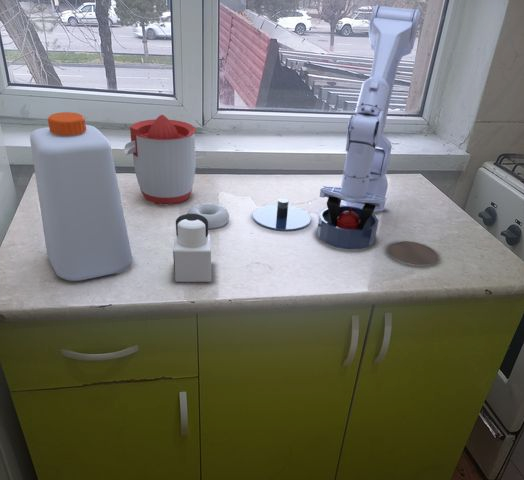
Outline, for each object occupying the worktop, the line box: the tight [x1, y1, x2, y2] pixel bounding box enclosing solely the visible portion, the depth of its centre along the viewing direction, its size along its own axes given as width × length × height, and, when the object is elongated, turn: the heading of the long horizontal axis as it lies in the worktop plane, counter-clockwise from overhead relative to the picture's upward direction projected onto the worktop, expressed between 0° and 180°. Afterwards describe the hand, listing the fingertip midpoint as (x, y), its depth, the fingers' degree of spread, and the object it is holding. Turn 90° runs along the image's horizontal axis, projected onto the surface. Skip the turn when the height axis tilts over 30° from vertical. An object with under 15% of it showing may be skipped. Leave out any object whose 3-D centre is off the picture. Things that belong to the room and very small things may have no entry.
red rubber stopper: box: [336, 208, 360, 230], centre depth 118 cm, size 5×5×7 cm
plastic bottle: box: [29, 111, 133, 282], centre depth 96 cm, size 15×15×28 cm
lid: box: [252, 198, 312, 232], centre depth 124 cm, size 14×14×5 cm
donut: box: [186, 202, 230, 230], centre depth 121 cm, size 10×4×10 cm
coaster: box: [387, 240, 438, 266], centre depth 116 cm, size 11×11×1 cm
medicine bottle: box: [172, 213, 212, 283], centre depth 100 cm, size 7×7×12 cm
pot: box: [316, 205, 379, 250], centre depth 119 cm, size 13×13×5 cm
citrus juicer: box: [123, 114, 197, 205], centre depth 126 cm, size 16×17×20 cm
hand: (346, 231), depth 119 cm, fingers closed on red rubber stopper, 5 cm apart
